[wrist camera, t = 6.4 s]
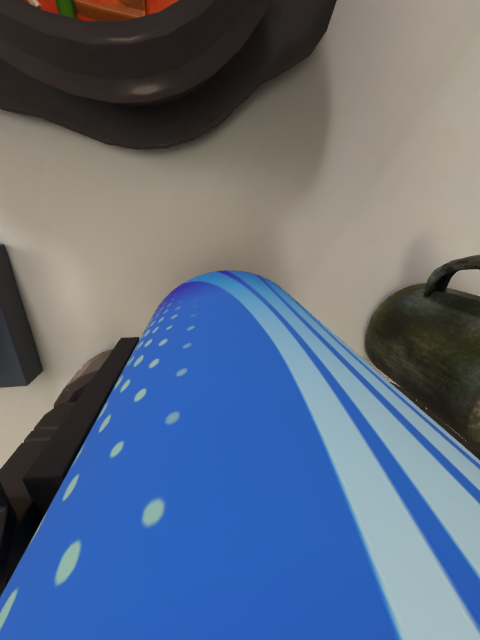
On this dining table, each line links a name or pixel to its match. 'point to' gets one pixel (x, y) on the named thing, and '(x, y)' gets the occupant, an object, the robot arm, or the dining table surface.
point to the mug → (433, 346)
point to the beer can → (254, 493)
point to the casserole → (148, 61)
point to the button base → (14, 333)
